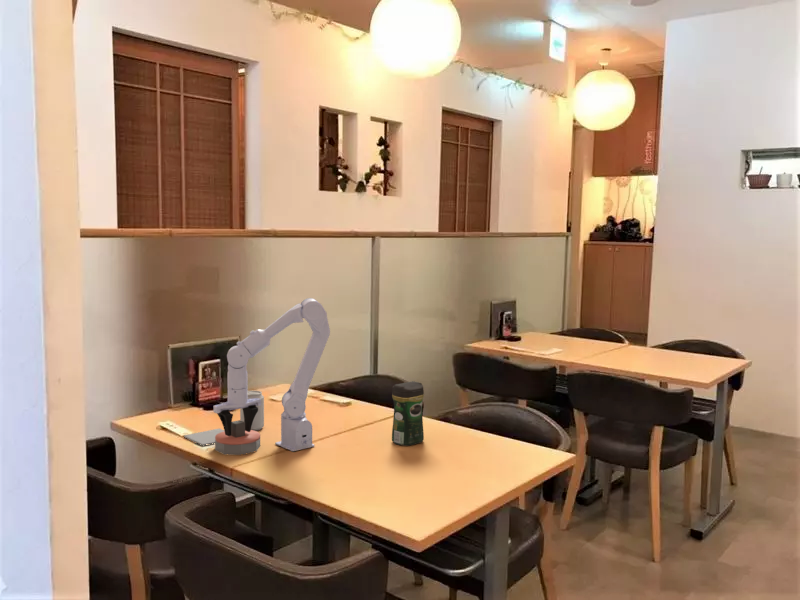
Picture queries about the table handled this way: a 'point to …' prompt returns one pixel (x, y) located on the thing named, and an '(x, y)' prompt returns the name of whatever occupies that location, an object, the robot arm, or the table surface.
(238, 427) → the lid
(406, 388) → the coffee jar
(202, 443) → the mat
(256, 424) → the can
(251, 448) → the bowl
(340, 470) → the table surface
